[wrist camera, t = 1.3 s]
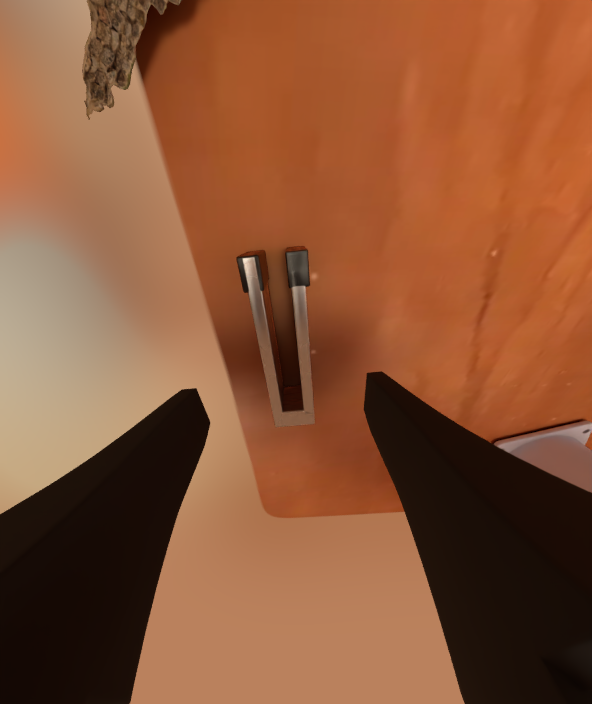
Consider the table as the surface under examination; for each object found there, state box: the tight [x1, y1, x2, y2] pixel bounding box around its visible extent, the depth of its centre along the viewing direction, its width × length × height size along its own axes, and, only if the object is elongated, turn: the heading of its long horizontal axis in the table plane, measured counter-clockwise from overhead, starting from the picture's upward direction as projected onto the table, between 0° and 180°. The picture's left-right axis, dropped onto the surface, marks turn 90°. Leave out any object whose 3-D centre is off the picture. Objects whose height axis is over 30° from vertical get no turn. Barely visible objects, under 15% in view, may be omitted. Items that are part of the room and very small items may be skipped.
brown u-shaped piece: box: [237, 246, 315, 427], centre depth 13 cm, size 11×3×3 cm, turn 5°
